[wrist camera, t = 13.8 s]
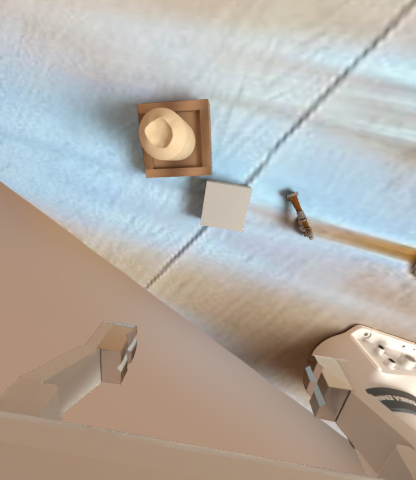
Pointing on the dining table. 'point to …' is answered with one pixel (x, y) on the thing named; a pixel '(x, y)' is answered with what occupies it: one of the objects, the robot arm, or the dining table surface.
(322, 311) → the dining table surface
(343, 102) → the dining table surface
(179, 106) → the square wooden tray
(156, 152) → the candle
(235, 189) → the grey block
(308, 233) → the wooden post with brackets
